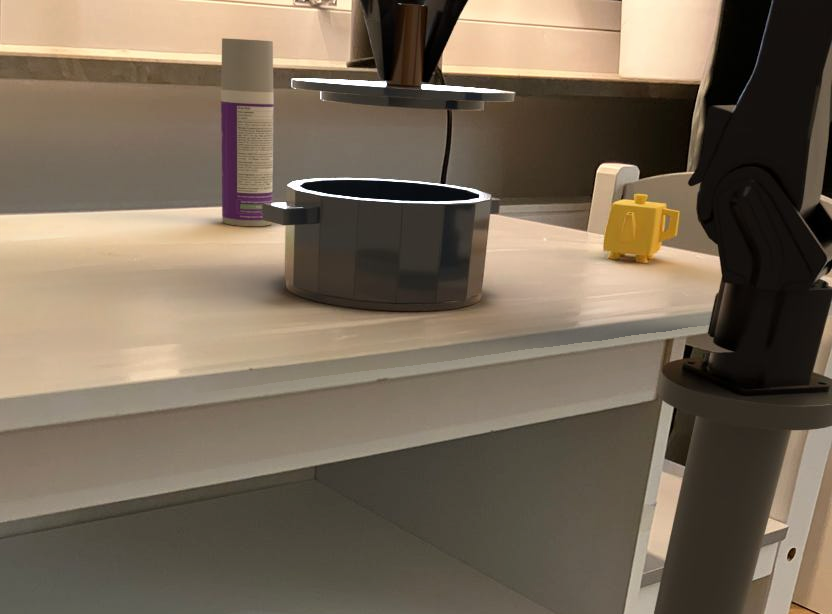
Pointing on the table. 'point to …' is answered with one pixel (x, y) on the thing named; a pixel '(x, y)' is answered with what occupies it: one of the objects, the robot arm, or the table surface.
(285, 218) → the pot
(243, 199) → the container
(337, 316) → the table surface
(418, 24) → the lid
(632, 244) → the teapot
